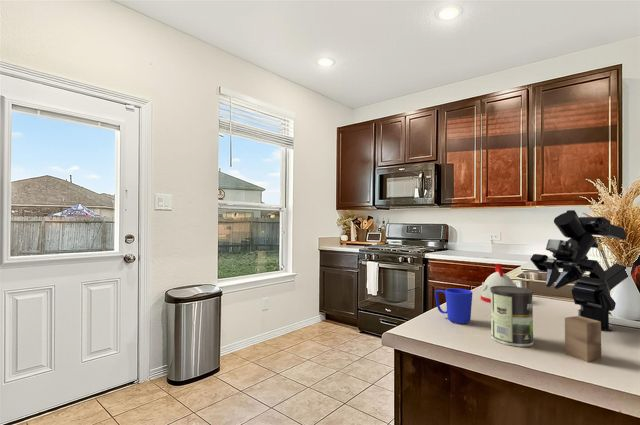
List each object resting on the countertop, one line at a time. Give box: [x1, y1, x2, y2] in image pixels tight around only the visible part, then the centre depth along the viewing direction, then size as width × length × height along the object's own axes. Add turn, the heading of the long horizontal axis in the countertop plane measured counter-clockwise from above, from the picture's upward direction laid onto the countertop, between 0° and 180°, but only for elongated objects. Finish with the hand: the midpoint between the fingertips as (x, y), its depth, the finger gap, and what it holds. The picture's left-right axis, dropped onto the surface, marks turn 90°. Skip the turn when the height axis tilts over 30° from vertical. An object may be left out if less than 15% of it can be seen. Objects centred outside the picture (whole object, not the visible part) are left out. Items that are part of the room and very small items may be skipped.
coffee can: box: [490, 286, 534, 348], centre depth 91 cm, size 10×10×14 cm
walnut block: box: [564, 315, 602, 363], centre depth 80 cm, size 5×5×9 cm
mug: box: [434, 287, 473, 325], centre depth 109 cm, size 8×12×10 cm
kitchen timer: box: [480, 263, 518, 304], centre depth 136 cm, size 14×14×15 cm
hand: (551, 287), depth 97 cm, fingers open, 2 cm apart
